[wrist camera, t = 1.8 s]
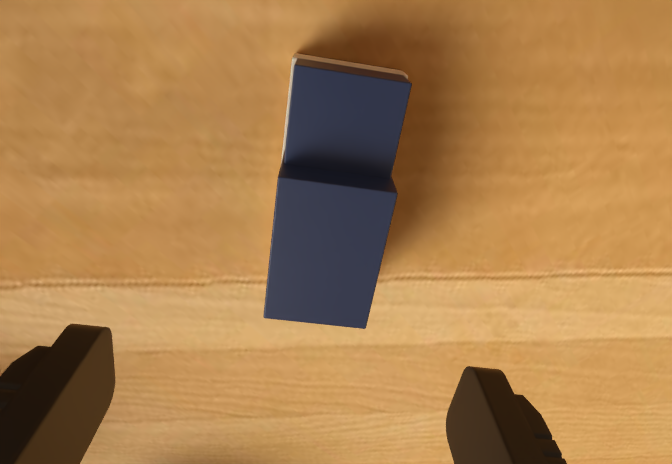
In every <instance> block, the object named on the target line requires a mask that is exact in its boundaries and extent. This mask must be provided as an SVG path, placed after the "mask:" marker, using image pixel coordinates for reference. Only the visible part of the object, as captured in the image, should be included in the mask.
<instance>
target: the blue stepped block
mask: <svg viewBox="0 0 672 464" xmlns="http://www.w3.org/2000/svg"><path fill="white" fill-rule="evenodd" d="M411 86H412V83H411V82H410V81H409V80H408V76H407V75H406V74H405V73H404V72H403V71H402V70H396V69H390V68H384V67H378V66H371V65H365V64H359V63H353V62H347V61H341V60H335V59H329V58H322V57H316V56H310V55H304V54H298V53H295V54H294V56H293V58H292V64H291V74H290V83H289V93H288V102H287V112H286V121H285V131H284V140H283V150H282V159H281V167H280V171H279V175H278V182H277V191H276V201H275V211H274V220H273V230H272V240H271V249H270V259H269V269H268V279H267V288H266V298H265V308H264V318H269V319H278V320H288V321H297V322H306V323H316V324H325V325H334V326H344V327H353V328H362V329H365V328H366V325H367V321H368V317H369V312H370V308H371V304H372V300H373V296H374V291H375V287H376V283H377V279H378V274H379V270H380V266H381V262H382V258H383V253H384V249H385V245H386V241H387V237H388V232H389V228H390V224H391V220H392V215H393V211H394V207H395V203H396V199H397V194H398V193H397V190H396V188H395V185H394V182H393V180H392V177H391V174H392V170H393V165H394V161H395V157H396V152H397V148H398V143H399V139H400V134H401V130H402V126H403V121H404V117H405V112H406V108H407V103H408V99H409V95H410V90H411Z"/></svg>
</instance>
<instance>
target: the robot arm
mask: <svg viewBox="0 0 672 464" xmlns="http://www.w3.org/2000/svg"><path fill="white" fill-rule="evenodd" d="M114 388H115V369H114V356H113V344H112V333H111V330H110V329H109V328H108V327H100V326H90V325H80V324H70V325H68V326H67V327H66V328H65V329H64V331H63V332H62V333H61V335H60V336H59V337H58V338H57V340H56V341H55V342H54V344H53V345H52V346H51V347H46V346H37V347H35V348H34V349H32V350H31V351H29V352H27V353H26V354H24V355H23V356H21V357H20V358H18V359H17V360H15V361H14V362H12V363H11V364H10V366H9V367H8V368H7V369H6V370H5V372H4V373H3V374H2V375H1V376H0V464H80V462H81V460H82V458H83V456H84V454H85V452H86V451H87V449H88V447H89V445H90V443H91V441H92V439H93V437H94V435H95V433H96V431H97V429H98V427H99V425H100V424H101V422H102V420H103V418H104V416H105V414H106V412H107V410H108V408H109V406H110V403H111V400H112V397H113V393H114ZM446 433H447V439H448V443H449V446H450V450H451V453H452V457H453V460H454V464H567V463H566V461H565V459H562V456H561V455H562V453H561V452H560V450H559V448H558V446H557V444H556V442H555V440H552V435H551V433H550V431H549V429H548V427H547V425H546V423H545V421H544V419H543V417H542V416H541V414H540V413H539V412H538V411H537V410H536V409H535V408H534V407H533V406H532V404H531V403H530V402H529V401H528V400H527V399H526V398H525V397H524V396H523V395H517V394H514V393H513V391H512V389H511V387H510V385H509V382H508V380H507V378H506V376H505V375H504V373H503V372H502V371H501V370H499V369H489V368H480V367H470V366H468V367H466V368H465V370H464V371H463V374H462V376H461V379H460V381H459V384H458V386H457V389H456V392H455V394H454V397H453V399H452V402H451V404H450V407H449V410H448V413H447V418H446Z"/></svg>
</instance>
